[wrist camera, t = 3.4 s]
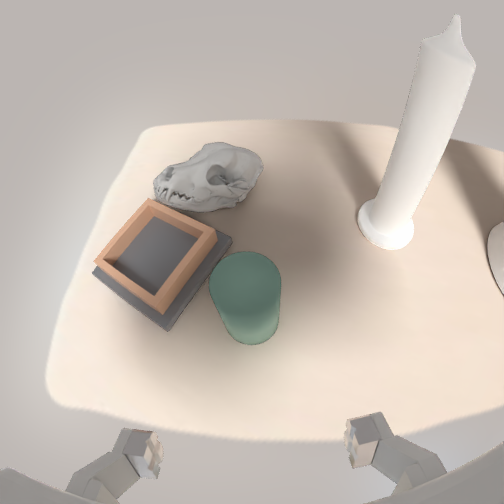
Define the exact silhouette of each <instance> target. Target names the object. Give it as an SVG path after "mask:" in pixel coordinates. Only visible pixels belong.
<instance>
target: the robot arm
mask: <svg viewBox="0 0 504 504" xmlns="http://www.w3.org/2000/svg"><path fill="white" fill-rule="evenodd" d="M488 257H489V262H490V266H491V269H492V272H493V275H494V277H495V279H496V282H497V284H498V286H499V288H500V289H501V291H502V293H503V294H504V221H503V222H502V223H500V224H498V225H496V226H495V227H494V228H493V229H492V230H491V232H490V234H489V237H488ZM346 427H347V430H346V431H345V433H344V443H345V447H346V450H347V451H348V452H350V455H349V459H350V462H351V465H352V468H353V469H354V468H358V467H363V466H367V465H371V464H372V466H373V467H374V468H376V469H377V470H378V471H380V472H381V473H383V474H384V475H385V476H387V477H388V478H389V479H391V480H392V481H393V482H395V483H396V484H397V486H396V488H395V489H394V491H393V493H392V494H391V496H389V497H385V498H382V499H379V500H375V501H372V502H368V503H364V504H504V442H502V443H500V444H499V445H497V446H496V447H494V448H492V449H491V450H489V451H487V452H486V453H484V454H482V455H481V456H479V457H477V458H475V459H474V460H472V461H470V462H468V463H466V464H464V465H462V466H461V467H459V468H457V469H455V470H453V471H450V472H449V473H447V471H446V470H445V468H444V466H443V464H442V463H441V461H440V459H439V458H438V456H437V454H435V453H433V452H430V451H428V450H426V449H424V448H422V447H420V446H418V445H416V444H414V443H412V442H410V441H408V440H406V439H404V438H402V437H400V436H398V435H396V436H394V435H393V433H392V431H391V429H390V427H389V425H388V423H387V421H386V420H385V418H384V416H383V414H382V413H381V412H377V413H373V414H368V415H364V416H360V417H356V418H351V419H347V421H346ZM157 438H158V436H157V434H156V432H153V431H144V430H136V429H127V428H123V429H122V430H121V432H120V434H119V437H118V439H117V441H116V443H115V446H114V448H113V450H112V452H108V453H106V454H105V455H103V456H101V457H100V458H98V459H97V460H95V461H94V462H92V463H90V464H89V465H87V466H85V467H84V468H82V469H80V470H79V471H77V472H75V473H74V474H73V476H72V478H71V480H70V482H69V484H68V486H67V489H66V491H63V490H61V489H58V488H55V487H53V486H50V485H48V484H46V483H43V482H41V481H38V480H36V479H34V478H32V477H30V476H27V475H25V474H24V473H21V472H20V471H18V470H16V469H13V468H10V467H7V468H3V469H0V504H120V503H119V502H118V501H117V500H116V499H117V498H119V497H120V496H121V495H122V494H123V493H124V492H125V491H127V490H128V489H129V488H130V487H131V486H132V485H133V484H134V483H135V482H136V481H138V479H140V477H141V478H150V479H157V478H158V475H159V471H160V467H159V465H158V464H159V463H160V462H162V460H163V447H162V444H161V443H160V442H159V441H158V440H157Z"/></svg>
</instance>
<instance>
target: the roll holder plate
mask: <svg viewBox="0 0 504 504" xmlns="http://www.w3.org/2000/svg"><path fill="white" fill-rule="evenodd" d="M231 244H232V238H231V237H230V236H227V235H225V234H223V233H221V232H219V231H217V230H215V229H213V228H211V227H209V226H207V225H205V224H203V223H201V222H198V221H196V220H194V219H192V218H190V217H188V216H186V215H184V214H181V213H179V212H177V211H175V210H173V209H171V208H169V207H166V206H164V205H162V204H160V203H158V202H156V201H154V200H151V199H149V198H148V199H147V200H146V201H145V202H144V203H143V204H142V206H141V207H140V208H139V209H138V210H137V211H136V212H135V213H134V214H133V215H132V217H131V218H130V219H129V220H128V221H127V222H126V223H125V224H124V226H123V227H122V228H121V229H120V230H119V231H118V232H117V234H116V235H115V236H114V237H113V238H112V240H111V241H110V242H109V243H108V244H107V245H106V247H105V248H104V249H103V250H102V252H101V253H100V254H99V255H98V256H97V258H96V259H95V260H94V262H95V264H96V265H97V267H96V268H95V270H94V271H93V272H92V274H93V275H94V276H95V277H96V278H97V279H99V280H100V281H101V282H102V283H104V284H105V285H106V286H107V287H108V288H110V289H111V290H112V291H113V292H115V293H116V294H117V295H119V296H120V297H121V298H122V299H124V300H125V301H126V302H128V303H129V304H130V305H132V306H133V307H134V308H136V309H137V310H138V311H140V312H141V313H142V314H144V315H145V316H146V317H148V318H149V319H150V320H152V321H153V322H155V323H156V324H157V325H159V326H160V327H162V328H163V329H165V330H166V331H167V332H168V331H169V330H170V328H171V327H172V326H173V324H174V323H175V321H176V320H177V319H178V317H179V316H180V314H181V313H182V312H183V310H184V309H185V307H186V306H187V304H188V303H189V302H190V300H191V299H192V297H193V296H194V295H195V293H196V292H197V291H198V289H199V288H200V286H201V285H202V284H203V282H204V281H205V279H206V278H207V277H208V275H209V274H210V272H211V271H212V270H213V268H214V267H215V266H216V264H217V263H218V261H219V260H220V259H221V257H222V256H223V255H224V253H225V252H226V251H227V249H228V248H229V246H230V245H231Z"/></svg>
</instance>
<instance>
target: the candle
mask: <svg viewBox="0 0 504 504" xmlns="http://www.w3.org/2000/svg"><path fill="white" fill-rule="evenodd" d="M475 69H476V63H475V61H474V59H473V58H472V57H471V55H470V53H469V52H468V50H467V48H466V47H465V45H464V44H463V39H462V35H461V17H460V16H459V15H458V14H454V16H453V18H452V20H451V22H450V24H449V26H448V27H447V29H446V30H445V31H444V32H443V33H442V34H439V35H436V36H432V37H428V38H424V39H423V40H422V42H421V46H420V51H419V56H418V60H417V65H416V70H415V74H414V78H413V81H412V85H411V90H410V93H409V97H408V100H407V104H406V108H405V111H404V115H403V118H402V122H401V125H400V128H399V132H398V135H397V138H396V141H395V144H394V147H393V150H392V153H391V156H390V159H389V162H388V165H387V168H386V171H385V174H384V177H383V180H382V182H381V185H380V188H379V191H378V193H377V196H376V198H375V199H371V200H369V201H367V202H365V203H364V204H363V205H362V206H361V208H360V210H359V213H358V225H359V228H360V230H361V232H362V233H363V235H364V236H365V237H366V238H367V239H368V240H369V241H370V242H371V243H373V244H374V245H376V246H378V247H380V248H383V249H388V250H396V249H400V248H403V247H404V246H406V245H407V244H408V243H409V242H410V240H411V239H412V237H413V233H414V225H413V221H412V219H411V217H412V215H413V213H414V211H415V209H416V207H417V206H418V204H419V202H420V200H421V198H422V196H423V194H424V192H425V190H426V188H427V186H428V184H429V182H430V180H431V178H432V176H433V174H434V172H435V170H436V168H437V166H438V164H439V161H440V159H441V157H442V155H443V153H444V150H445V148H446V146H447V144H448V141H449V139H450V137H451V134H452V132H453V129H454V127H455V125H456V122H457V119H458V117H459V115H460V112H461V109H462V107H463V104H464V101H465V98H466V96H467V93H468V90H469V87H470V84H471V81H472V78H473V75H474V71H475Z"/></svg>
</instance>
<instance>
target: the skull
mask: <svg viewBox="0 0 504 504" xmlns="http://www.w3.org/2000/svg"><path fill="white" fill-rule="evenodd" d="M262 171H263V163H262V161H261V159H260V157H259V156H258V155H257V154H255V153H254V152H252V151H250V150H248V149H245V148H241V147H235V146H232V145H230V144H227V143H224V142H215V143H210V144H205V145H204V146H203V148H202V150H201V151H199V152H197V153H196V154H195V155H194V156H193V157H191V158H190V159H189V160H188V161H186V162H183V163H179V164H175V165H170V166H168V167H167V168H166V169H165V170H164V171H163V172H162V173H161V174H160V175H158V176H157V178H155V179H154V183H153V185H154V191H155V196H156V198H157V199H158V200H159V201H160V202H162V203H164V204H166V205H168V206H171V207H174V208H177V209H182V210H187V211H193V212H211V211H215V210H217V209H219V208H224V207H228V208H232V207H235V206H236V205H237V203H236V202H238V201H239V202H241V201H243V200H244V199H245V198H246V195H247V193H249V191H250V190H251V189H252V188H253V187H254V186H255V184H256V181H257V178H258V176H259V175H260V173H261V172H262ZM226 184H227V185H226ZM164 188H166V189H164ZM189 197H191V198H190V199H186V198H189Z"/></svg>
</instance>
